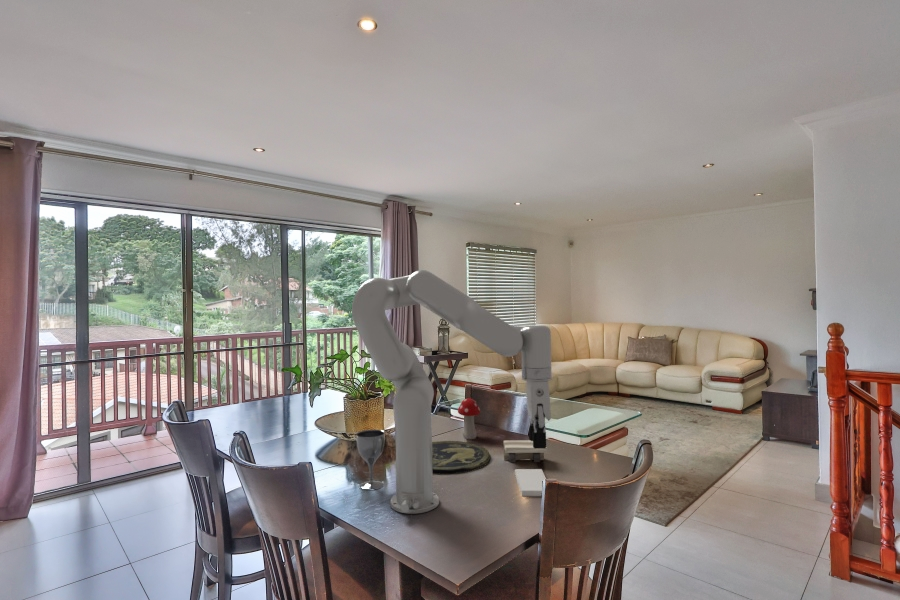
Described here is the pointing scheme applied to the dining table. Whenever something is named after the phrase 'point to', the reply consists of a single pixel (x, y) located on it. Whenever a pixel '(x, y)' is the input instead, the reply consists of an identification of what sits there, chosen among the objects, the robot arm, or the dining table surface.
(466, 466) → the decorative plate
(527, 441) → the low shelf
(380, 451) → the wine glass
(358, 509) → the dining table surface
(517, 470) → the tile
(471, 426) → the decorative mushroom
